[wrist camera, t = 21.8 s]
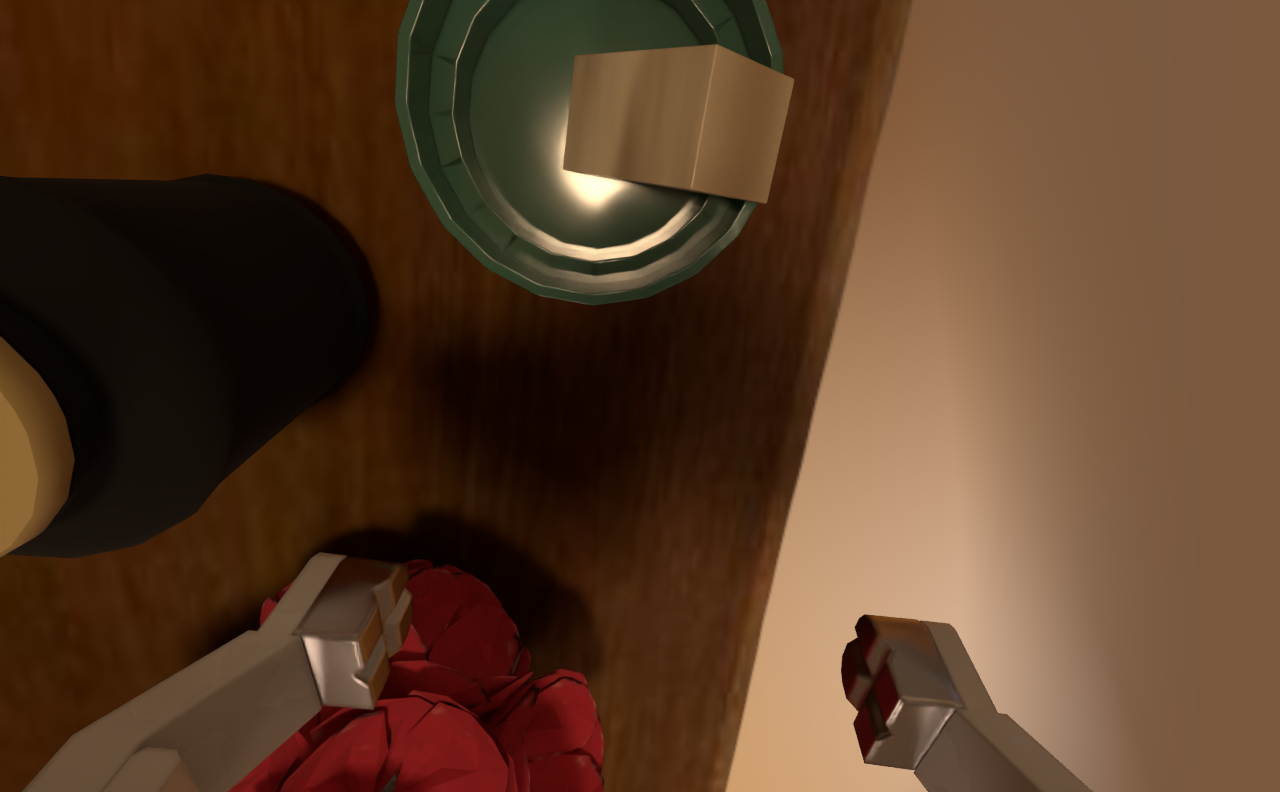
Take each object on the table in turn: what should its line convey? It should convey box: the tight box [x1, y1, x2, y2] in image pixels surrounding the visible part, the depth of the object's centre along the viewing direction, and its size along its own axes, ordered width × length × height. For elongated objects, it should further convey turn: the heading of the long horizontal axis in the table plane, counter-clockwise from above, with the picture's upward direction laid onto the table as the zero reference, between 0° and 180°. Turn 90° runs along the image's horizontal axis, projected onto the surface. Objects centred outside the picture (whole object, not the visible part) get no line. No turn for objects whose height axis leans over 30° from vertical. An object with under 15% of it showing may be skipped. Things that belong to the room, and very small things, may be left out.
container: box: [0, 174, 369, 558], centre depth 21 cm, size 12×12×18 cm
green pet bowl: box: [395, 0, 784, 305], centre depth 25 cm, size 15×15×6 cm
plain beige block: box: [563, 44, 794, 203], centre depth 23 cm, size 4×4×8 cm
